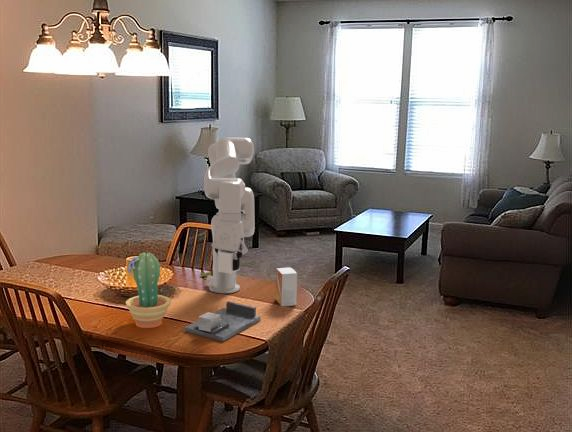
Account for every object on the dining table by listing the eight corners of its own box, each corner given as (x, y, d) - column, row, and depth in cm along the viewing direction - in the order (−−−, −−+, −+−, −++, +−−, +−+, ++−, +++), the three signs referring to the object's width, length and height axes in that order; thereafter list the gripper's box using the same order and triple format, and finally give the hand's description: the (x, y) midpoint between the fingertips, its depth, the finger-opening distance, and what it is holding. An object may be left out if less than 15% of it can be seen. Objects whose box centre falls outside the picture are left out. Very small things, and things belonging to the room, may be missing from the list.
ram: (198, 329, 210) (198, 316, 209) (212, 321, 216) (212, 309, 215) (210, 332, 207) (210, 319, 206) (224, 324, 214) (224, 312, 213)
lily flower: (222, 272, 282) (222, 262, 282) (228, 280, 271) (228, 269, 270) (196, 274, 279) (196, 264, 278) (201, 282, 268) (201, 271, 267)
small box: (275, 299, 247) (275, 268, 244) (290, 298, 249) (291, 267, 246) (280, 306, 239) (281, 273, 237) (296, 305, 241) (297, 272, 238)
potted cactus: (142, 312, 228) (141, 246, 223) (179, 319, 223) (179, 251, 218) (116, 327, 214) (114, 256, 209) (155, 334, 209) (154, 262, 204)
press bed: (184, 331, 212) (184, 318, 211) (223, 311, 232) (223, 300, 231) (223, 341, 204) (223, 328, 204) (260, 320, 224) (260, 308, 223)
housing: (218, 271, 216) (218, 250, 215) (227, 267, 221) (228, 246, 220) (230, 273, 214) (230, 252, 212) (239, 269, 219) (240, 248, 217)
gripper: (203, 215, 215) (202, 267, 218) (244, 221, 207) (243, 274, 210) (215, 212, 221) (215, 262, 225) (256, 218, 213) (255, 270, 217)
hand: (229, 268), depth 217 cm, fingers closed on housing, 5 cm apart
